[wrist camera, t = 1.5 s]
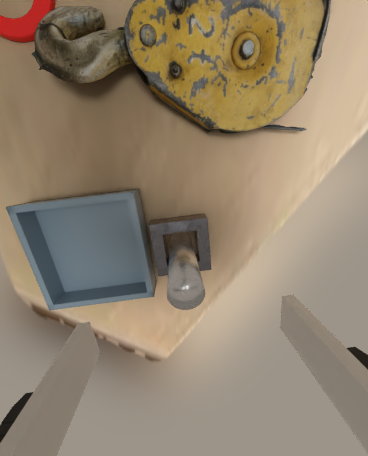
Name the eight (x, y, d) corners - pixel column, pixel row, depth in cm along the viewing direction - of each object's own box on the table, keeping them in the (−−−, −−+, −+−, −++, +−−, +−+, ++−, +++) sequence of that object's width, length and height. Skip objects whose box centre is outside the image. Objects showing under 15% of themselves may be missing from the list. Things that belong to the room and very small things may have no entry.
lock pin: (168, 232, 26) (164, 280, 14) (190, 230, 26) (203, 275, 14) (171, 252, 27) (169, 312, 15) (192, 249, 27) (206, 307, 15)
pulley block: (-38, -147, 11) (398, -71, 13) (30, -55, 16) (334, -11, 18) (32, 117, 17) (321, 140, 19) (65, 122, 22) (290, 140, 25)
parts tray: (29, 202, 23) (5, 207, 20) (138, 188, 24) (133, 191, 20) (64, 293, 28) (49, 310, 24) (156, 281, 28) (153, 296, 25)
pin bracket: (151, 220, 25) (148, 225, 23) (204, 213, 25) (207, 217, 23) (159, 267, 27) (158, 276, 25) (208, 261, 27) (211, 269, 25)
